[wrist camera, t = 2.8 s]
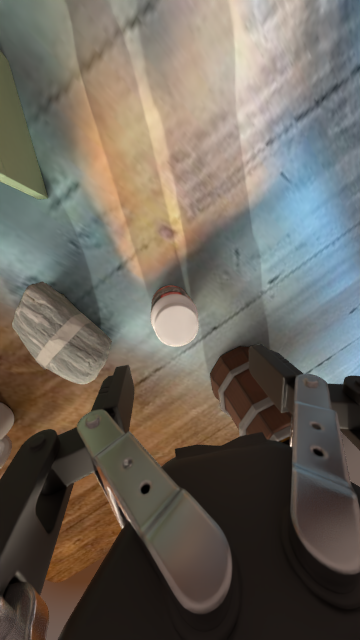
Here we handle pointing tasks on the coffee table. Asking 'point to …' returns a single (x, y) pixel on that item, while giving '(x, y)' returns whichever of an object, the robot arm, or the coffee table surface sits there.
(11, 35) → the coffee table surface
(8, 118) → the green footstool with circle
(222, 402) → the mug
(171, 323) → the pill bottle
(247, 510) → the robot arm
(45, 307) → the decorative stone
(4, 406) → the cup
